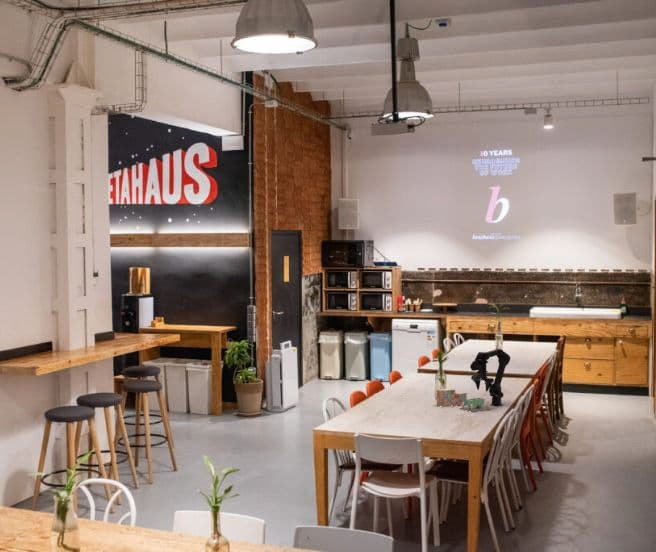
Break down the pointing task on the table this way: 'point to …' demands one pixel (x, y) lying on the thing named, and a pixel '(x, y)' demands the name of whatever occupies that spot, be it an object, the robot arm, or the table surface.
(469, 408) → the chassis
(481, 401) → the board
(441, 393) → the stack of blocks
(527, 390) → the table surface
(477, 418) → the table surface
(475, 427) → the table surface
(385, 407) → the table surface
